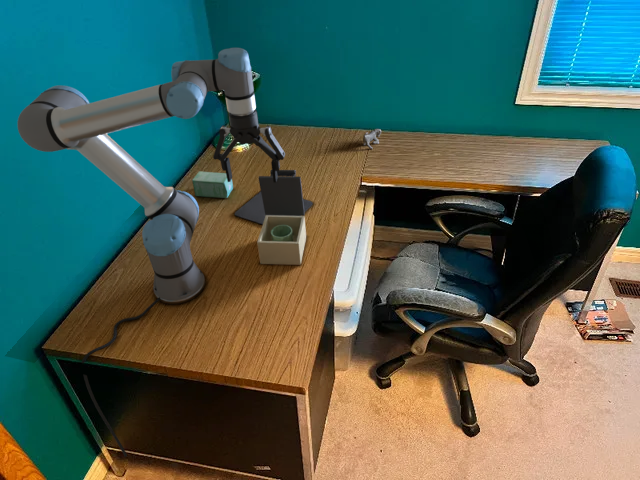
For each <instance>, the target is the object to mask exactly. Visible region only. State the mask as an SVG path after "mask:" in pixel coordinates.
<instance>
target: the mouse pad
mask: <svg viewBox="0 0 640 480" xmlns="http://www.w3.org/2000/svg"><path fill="white" fill-rule="evenodd" d="M303 204H304V213H306V212H307V211H308V210H309V209H310V208H311V207H312V206H313V201H311V200H309V199H304V198H303ZM234 216H235V217H238V218H241V219H243V220H247V221H250V222H253V223H256V224H259V225H262V226H263V223H264V219H265V216H266V215H265V210H264V205H263V200H262V194H261V191H259V192H258V193H256V194H255V195H254V196H253V197H252V198H250V199H249V200H248V201H247V202H246V203H245V204H243V205H242V206H241V207H240V208H239V209H237V210H236V211H235V212H234ZM272 216H298V215H272Z"/></svg>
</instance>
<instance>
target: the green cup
mask: <svg viewBox="0 0 640 480" xmlns="http://www.w3.org/2000/svg"><path fill="white" fill-rule="evenodd" d="M271 238H272V241H281V242H293V235H292V228H291V227H290V226H287V225H278V226H275V227H274V228H272V230H271Z"/></svg>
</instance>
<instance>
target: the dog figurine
mask: <svg viewBox="0 0 640 480" xmlns="http://www.w3.org/2000/svg"><path fill="white" fill-rule="evenodd" d="M381 134H382V130H381V129H380V128H375V129H373V130H371V131H370V132H368V131H367V132H365V133H364V134H363V136H362V142H363V143H362V146H366V147H368V149H371V150H373V147H372V146H371V145H370V142H371V143H372V144H374V145H378V144H380V140H379V138H380V137H381Z"/></svg>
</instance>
